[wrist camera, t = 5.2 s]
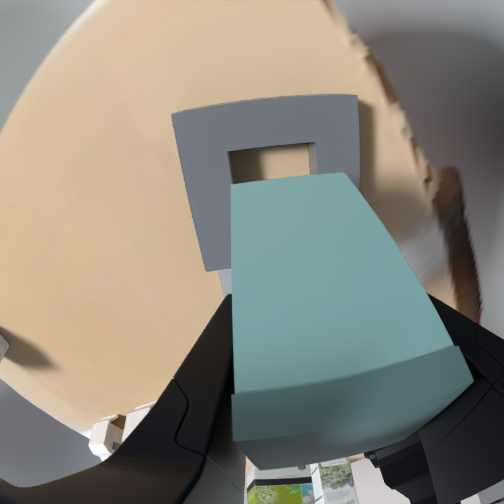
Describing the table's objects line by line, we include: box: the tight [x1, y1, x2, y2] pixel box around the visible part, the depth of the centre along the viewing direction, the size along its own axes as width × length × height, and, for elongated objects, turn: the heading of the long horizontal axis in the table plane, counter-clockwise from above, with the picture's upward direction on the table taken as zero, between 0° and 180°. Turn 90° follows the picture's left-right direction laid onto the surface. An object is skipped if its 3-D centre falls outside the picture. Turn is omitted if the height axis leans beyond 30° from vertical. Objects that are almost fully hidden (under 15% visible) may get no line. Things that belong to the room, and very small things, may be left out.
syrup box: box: [310, 457, 359, 504], centre depth 36 cm, size 6×6×14 cm
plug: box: [231, 172, 474, 471], centre depth 8 cm, size 4×4×8 cm
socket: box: [171, 94, 360, 272], centre depth 17 cm, size 10×10×2 cm
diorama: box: [89, 400, 248, 462], centre depth 28 cm, size 25×10×13 cm, turn 127°
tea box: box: [247, 464, 315, 504], centre depth 43 cm, size 15×10×15 cm, turn 81°
